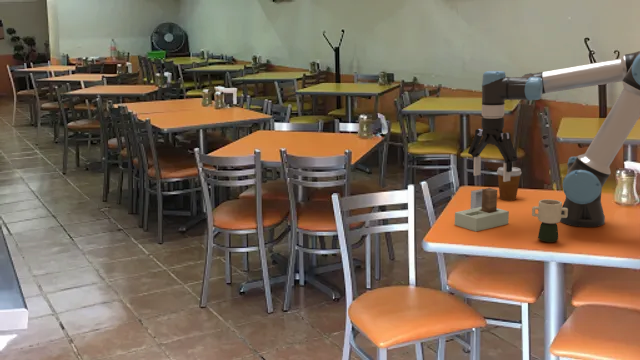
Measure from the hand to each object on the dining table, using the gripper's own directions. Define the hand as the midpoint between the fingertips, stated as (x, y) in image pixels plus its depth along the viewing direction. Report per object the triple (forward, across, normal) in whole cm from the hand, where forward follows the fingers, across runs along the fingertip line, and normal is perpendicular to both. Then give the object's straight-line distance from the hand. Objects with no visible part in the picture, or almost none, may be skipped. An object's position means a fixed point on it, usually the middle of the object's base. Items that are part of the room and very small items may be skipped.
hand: (491, 178), depth 253 cm
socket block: (+16, +1, +4) cm, 16 cm away
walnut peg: (+16, +1, 0) cm, 16 cm away
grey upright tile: (+16, +11, -5) cm, 20 cm away
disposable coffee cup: (+16, +21, -32) cm, 42 cm away
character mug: (+17, -25, +1) cm, 30 cm away
